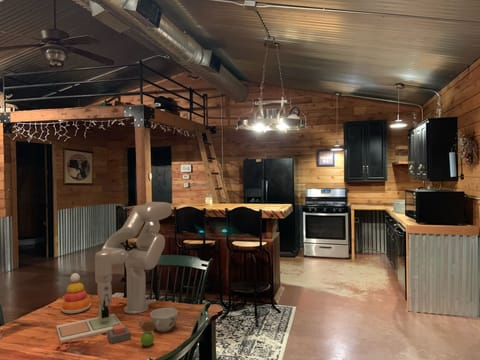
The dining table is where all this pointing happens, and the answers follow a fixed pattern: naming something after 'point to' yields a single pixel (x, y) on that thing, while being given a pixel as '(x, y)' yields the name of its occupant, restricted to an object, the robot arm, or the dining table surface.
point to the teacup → (164, 318)
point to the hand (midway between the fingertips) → (104, 315)
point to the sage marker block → (101, 312)
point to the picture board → (85, 328)
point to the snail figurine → (146, 332)
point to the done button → (118, 329)
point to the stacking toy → (75, 297)
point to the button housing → (118, 336)
